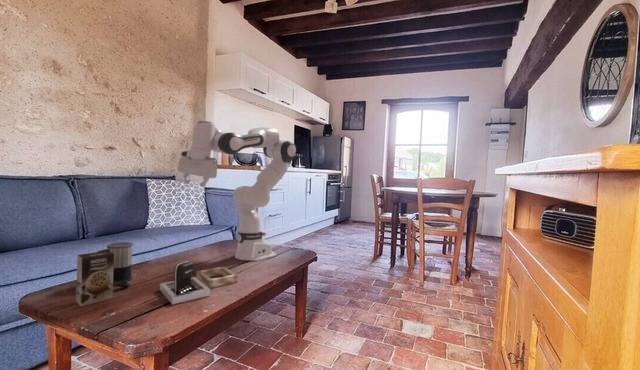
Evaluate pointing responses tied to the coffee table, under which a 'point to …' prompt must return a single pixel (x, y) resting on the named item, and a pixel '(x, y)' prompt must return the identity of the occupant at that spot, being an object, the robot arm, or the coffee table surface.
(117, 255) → the milk frother
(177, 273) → the battery charger
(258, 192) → the robot arm
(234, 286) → the coffee table surface
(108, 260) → the cookie box
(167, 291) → the frame
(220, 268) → the tan wooden frame
